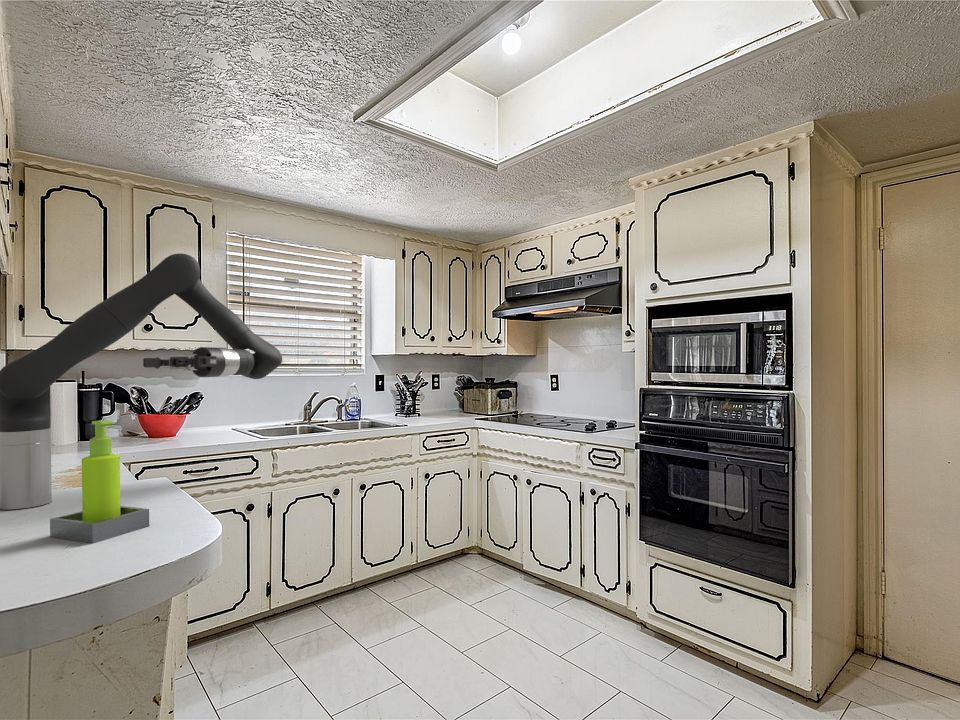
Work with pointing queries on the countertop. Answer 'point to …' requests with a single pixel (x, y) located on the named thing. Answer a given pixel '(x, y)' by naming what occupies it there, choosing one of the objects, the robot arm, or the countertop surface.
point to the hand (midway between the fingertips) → (157, 362)
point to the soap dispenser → (100, 477)
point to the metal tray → (98, 525)
